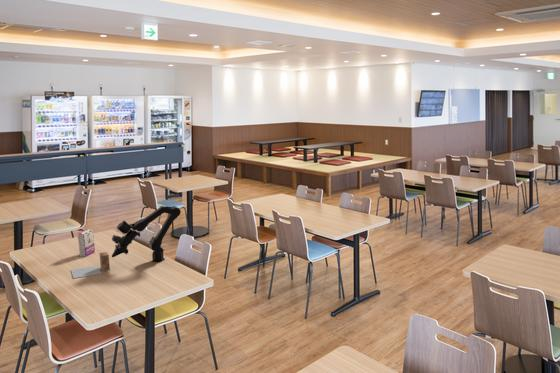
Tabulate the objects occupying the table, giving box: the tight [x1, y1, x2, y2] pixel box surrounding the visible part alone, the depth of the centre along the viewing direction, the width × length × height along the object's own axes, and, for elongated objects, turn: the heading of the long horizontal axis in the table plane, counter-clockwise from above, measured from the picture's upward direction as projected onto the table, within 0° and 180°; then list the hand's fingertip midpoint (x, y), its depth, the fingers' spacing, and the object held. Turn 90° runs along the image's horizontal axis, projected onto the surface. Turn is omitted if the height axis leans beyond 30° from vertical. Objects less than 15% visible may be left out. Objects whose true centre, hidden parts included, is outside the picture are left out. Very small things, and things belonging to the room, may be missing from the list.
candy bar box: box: [77, 229, 96, 258], centre depth 336 cm, size 11×5×16 cm, turn 168°
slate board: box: [70, 265, 102, 279], centre depth 302 cm, size 16×16×1 cm
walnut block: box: [99, 251, 111, 272], centre depth 307 cm, size 4×7×10 cm, turn 28°
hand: (112, 256), depth 308 cm, fingers closed
